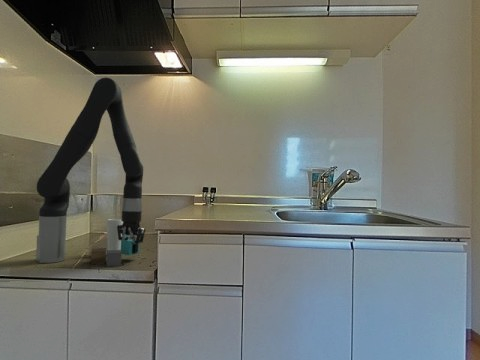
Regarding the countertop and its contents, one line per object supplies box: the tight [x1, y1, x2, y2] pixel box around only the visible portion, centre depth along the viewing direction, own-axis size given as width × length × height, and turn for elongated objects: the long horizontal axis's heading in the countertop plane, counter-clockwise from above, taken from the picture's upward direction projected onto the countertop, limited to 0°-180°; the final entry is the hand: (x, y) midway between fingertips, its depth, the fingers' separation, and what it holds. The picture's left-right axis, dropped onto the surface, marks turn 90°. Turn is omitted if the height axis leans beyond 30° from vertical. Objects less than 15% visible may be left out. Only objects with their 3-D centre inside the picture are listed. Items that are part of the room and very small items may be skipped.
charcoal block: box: [106, 249, 122, 268], centre depth 126 cm, size 5×5×5 cm
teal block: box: [121, 238, 141, 256], centre depth 134 cm, size 5×5×5 cm
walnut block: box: [90, 247, 107, 265], centre depth 129 cm, size 5×5×5 cm
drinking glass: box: [106, 218, 123, 250], centre depth 142 cm, size 7×7×15 cm
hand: (129, 252), depth 134 cm, fingers closed on teal block, 5 cm apart
